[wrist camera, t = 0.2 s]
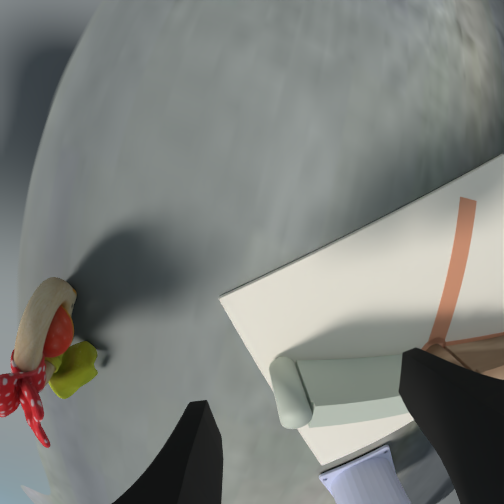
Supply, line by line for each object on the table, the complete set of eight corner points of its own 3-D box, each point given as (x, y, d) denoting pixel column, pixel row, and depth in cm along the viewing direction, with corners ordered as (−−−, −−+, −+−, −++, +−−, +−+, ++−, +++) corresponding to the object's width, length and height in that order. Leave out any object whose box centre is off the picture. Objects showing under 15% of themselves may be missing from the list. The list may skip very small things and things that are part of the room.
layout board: (515, 337, 23) (517, 339, 22) (320, 462, 24) (321, 465, 23) (501, 153, 18) (505, 153, 17) (219, 296, 19) (218, 299, 18)
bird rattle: (49, 268, 19) (28, 373, 18) (-38, 244, 9) (-54, 410, 7) (118, 295, 20) (93, 403, 19) (56, 291, 10) (36, 471, 8)
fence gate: (418, 366, 21) (450, 401, 16) (267, 377, 20) (278, 429, 15) (425, 348, 20) (460, 382, 15) (270, 356, 19) (282, 408, 14)
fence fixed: (511, 344, 23) (543, 368, 17) (419, 364, 21) (457, 405, 15) (517, 328, 22) (551, 351, 16) (427, 344, 21) (468, 383, 15)
